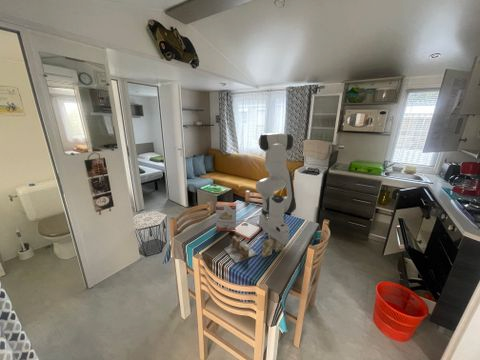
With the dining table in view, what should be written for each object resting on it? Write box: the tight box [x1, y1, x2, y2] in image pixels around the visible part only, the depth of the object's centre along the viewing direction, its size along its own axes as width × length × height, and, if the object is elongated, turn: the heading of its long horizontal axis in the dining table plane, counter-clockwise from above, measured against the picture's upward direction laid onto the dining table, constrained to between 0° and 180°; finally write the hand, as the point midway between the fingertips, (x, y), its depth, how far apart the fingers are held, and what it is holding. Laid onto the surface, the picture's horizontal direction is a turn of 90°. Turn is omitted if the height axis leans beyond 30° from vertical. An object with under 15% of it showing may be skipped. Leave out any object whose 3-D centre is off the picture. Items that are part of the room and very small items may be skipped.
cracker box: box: [215, 201, 237, 232], centre depth 146 cm, size 14×6×21 cm, turn 85°
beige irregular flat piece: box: [261, 237, 285, 258], centre depth 123 cm, size 16×2×10 cm, turn 122°
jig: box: [223, 235, 258, 264], centre depth 123 cm, size 16×15×7 cm
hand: (273, 242), depth 122 cm, fingers open, 4 cm apart
